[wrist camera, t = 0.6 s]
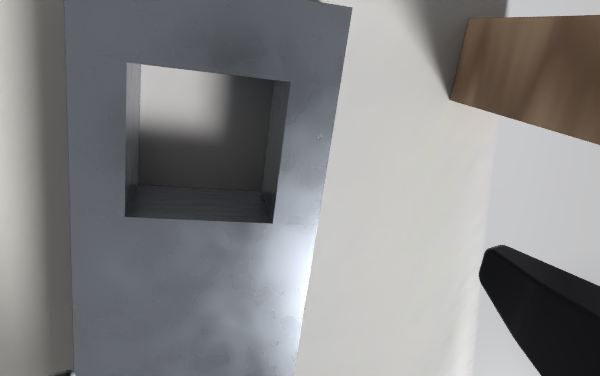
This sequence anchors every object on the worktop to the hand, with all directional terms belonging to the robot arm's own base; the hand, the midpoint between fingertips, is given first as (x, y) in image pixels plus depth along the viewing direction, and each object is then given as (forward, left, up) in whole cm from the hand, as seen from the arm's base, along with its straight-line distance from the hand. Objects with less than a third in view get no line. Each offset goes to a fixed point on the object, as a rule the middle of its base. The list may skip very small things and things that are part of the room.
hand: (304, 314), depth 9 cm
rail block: (-3, +3, -14) cm, 14 cm away
